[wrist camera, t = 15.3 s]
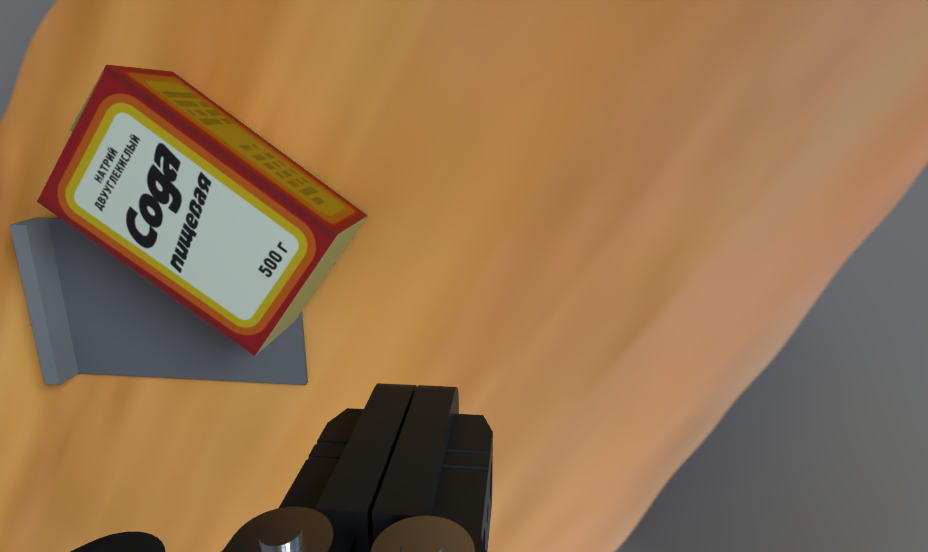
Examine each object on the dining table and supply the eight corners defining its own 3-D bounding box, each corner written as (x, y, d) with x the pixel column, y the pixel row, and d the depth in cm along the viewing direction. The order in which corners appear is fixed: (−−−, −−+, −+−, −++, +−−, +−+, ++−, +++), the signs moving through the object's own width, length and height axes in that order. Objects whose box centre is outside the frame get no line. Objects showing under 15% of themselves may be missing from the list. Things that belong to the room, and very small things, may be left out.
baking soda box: (254, 356, 38) (31, 197, 37) (294, 321, 44) (104, 185, 43) (337, 234, 35) (100, 60, 34) (367, 215, 42) (167, 68, 41)
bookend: (36, 217, 45) (9, 224, 43) (294, 223, 43) (281, 231, 41) (67, 370, 48) (44, 384, 46) (307, 382, 46) (296, 397, 44)
